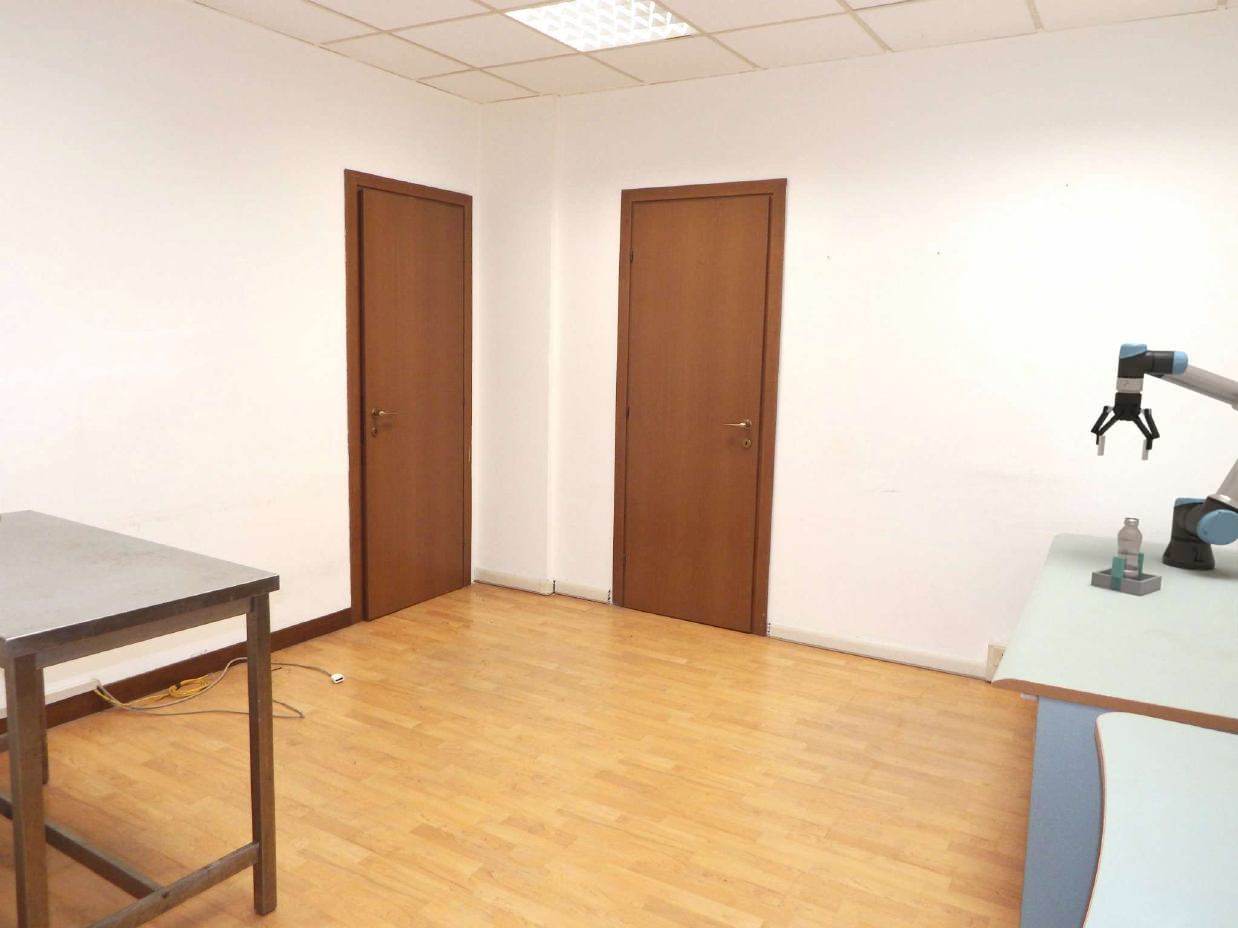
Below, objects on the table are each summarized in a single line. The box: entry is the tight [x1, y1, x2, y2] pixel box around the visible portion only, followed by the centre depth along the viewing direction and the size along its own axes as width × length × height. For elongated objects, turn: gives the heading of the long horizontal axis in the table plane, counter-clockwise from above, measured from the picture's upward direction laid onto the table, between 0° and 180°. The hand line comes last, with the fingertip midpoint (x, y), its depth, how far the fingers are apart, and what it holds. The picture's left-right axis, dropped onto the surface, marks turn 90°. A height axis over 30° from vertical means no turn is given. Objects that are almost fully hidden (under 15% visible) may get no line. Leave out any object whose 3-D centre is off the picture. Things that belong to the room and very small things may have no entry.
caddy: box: [1090, 551, 1163, 597], centre depth 273 cm, size 14×14×10 cm
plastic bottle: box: [1117, 517, 1143, 581], centre depth 272 cm, size 6×7×20 cm
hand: (1122, 457), depth 293 cm, fingers open, 13 cm apart
